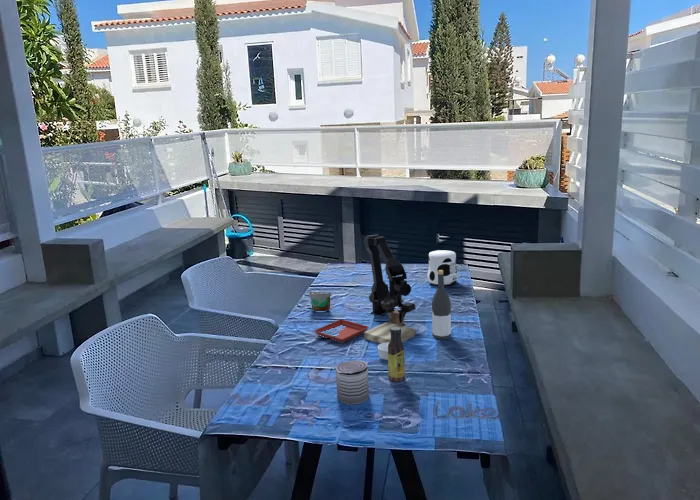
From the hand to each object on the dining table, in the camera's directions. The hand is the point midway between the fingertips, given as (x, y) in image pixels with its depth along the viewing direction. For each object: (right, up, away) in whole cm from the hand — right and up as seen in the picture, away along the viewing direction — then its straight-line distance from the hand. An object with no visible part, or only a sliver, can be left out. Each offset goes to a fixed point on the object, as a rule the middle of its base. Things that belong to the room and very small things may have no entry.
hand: (396, 321), depth 258 cm
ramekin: (-6, -10, -34) cm, 36 cm away
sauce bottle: (-4, -14, -54) cm, 56 cm away
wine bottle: (+19, -4, -16) cm, 25 cm away
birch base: (-4, -5, -14) cm, 16 cm away
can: (-21, -18, -65) cm, 71 cm away
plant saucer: (-26, -5, -8) cm, 27 cm away
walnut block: (0, -1, 0) cm, 1 cm away
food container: (-38, +2, +24) cm, 45 cm away
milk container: (+32, +14, +60) cm, 69 cm away
